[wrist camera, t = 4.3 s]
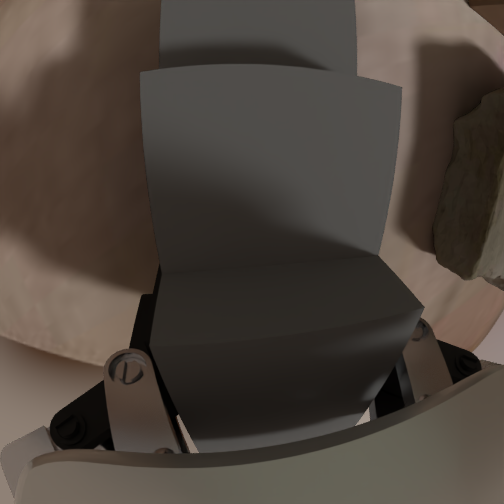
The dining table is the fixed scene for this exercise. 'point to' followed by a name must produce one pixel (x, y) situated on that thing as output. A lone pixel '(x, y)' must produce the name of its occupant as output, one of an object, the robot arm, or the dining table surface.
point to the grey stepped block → (270, 220)
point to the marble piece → (474, 196)
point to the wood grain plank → (490, 11)
